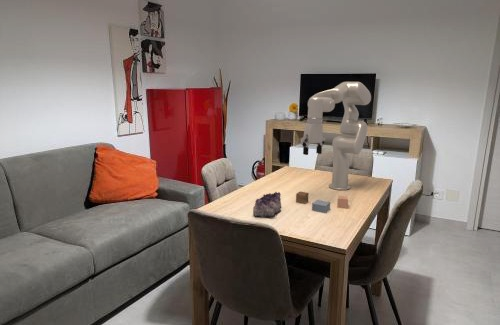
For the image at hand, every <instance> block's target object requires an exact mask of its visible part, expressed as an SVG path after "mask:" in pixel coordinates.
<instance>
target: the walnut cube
mask: <svg viewBox="0 0 500 325" xmlns="http://www.w3.org/2000/svg"><path fill="white" fill-rule="evenodd" d="M309 194H310V193H309V192H308V191H307V192H306V191H298V192H296V194H295V204H302V205H306V204H307V203H308V202H309V197H310V196H309Z"/></svg>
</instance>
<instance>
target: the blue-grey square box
mask: <svg viewBox="0 0 500 325" xmlns="http://www.w3.org/2000/svg"><path fill="white" fill-rule="evenodd" d="M330 210H331V202H330V201H327V200H322V199H321V200H320V199H315V201H313V203H311V211H312V212H317V213H322V214H327V212H328V211H330Z"/></svg>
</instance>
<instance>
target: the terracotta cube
mask: <svg viewBox="0 0 500 325" xmlns="http://www.w3.org/2000/svg"><path fill="white" fill-rule="evenodd" d="M348 206H349V196H345V195H338V196H337V206H336V207H337V209H339V208H340V209H345V210H346V209H348Z"/></svg>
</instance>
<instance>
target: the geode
mask: <svg viewBox="0 0 500 325" xmlns="http://www.w3.org/2000/svg"><path fill="white" fill-rule="evenodd" d="M281 195H282V194H281V192H280V191H278V192H277V191H275V192H273V193H270V192H269V193H266V194H263V196H261V197H259V198H256V199H255V202H254V205H253V208H252V210H253V213H252V215H253V216H255V217H268V218H273V217H275V215H276V214H278V213H281V208H282V201H281V200H282V198H281Z"/></svg>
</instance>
